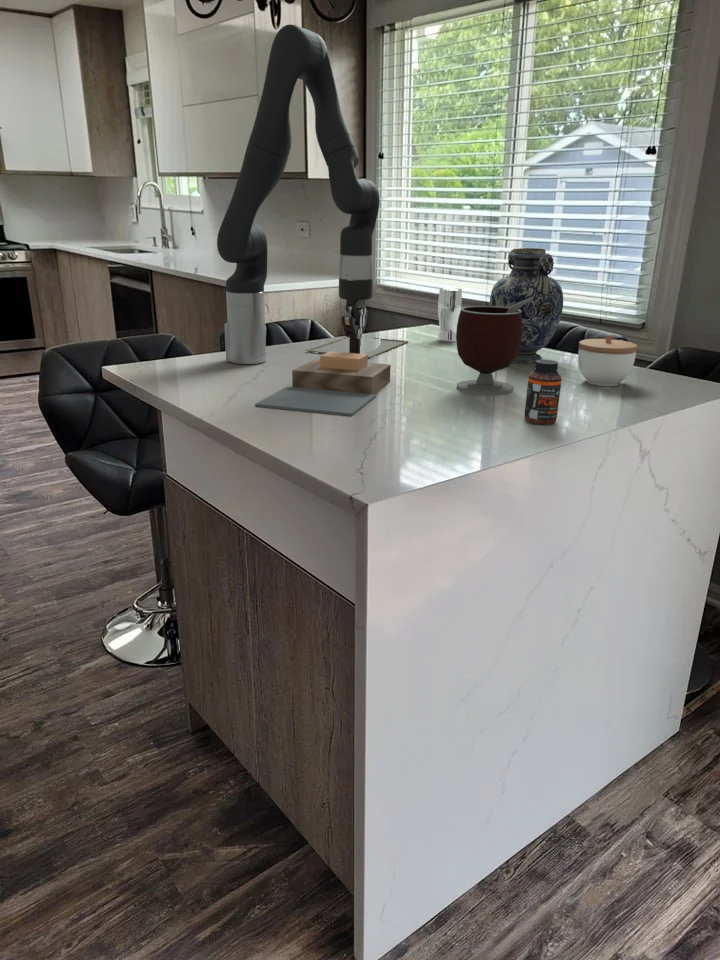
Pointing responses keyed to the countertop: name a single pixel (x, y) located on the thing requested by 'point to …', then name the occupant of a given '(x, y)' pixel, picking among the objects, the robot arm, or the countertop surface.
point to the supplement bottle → (543, 393)
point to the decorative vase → (526, 284)
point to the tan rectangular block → (343, 360)
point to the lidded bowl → (606, 360)
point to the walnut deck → (342, 378)
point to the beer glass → (449, 313)
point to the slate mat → (317, 400)
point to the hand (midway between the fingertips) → (354, 354)
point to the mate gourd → (488, 344)
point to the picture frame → (383, 347)
